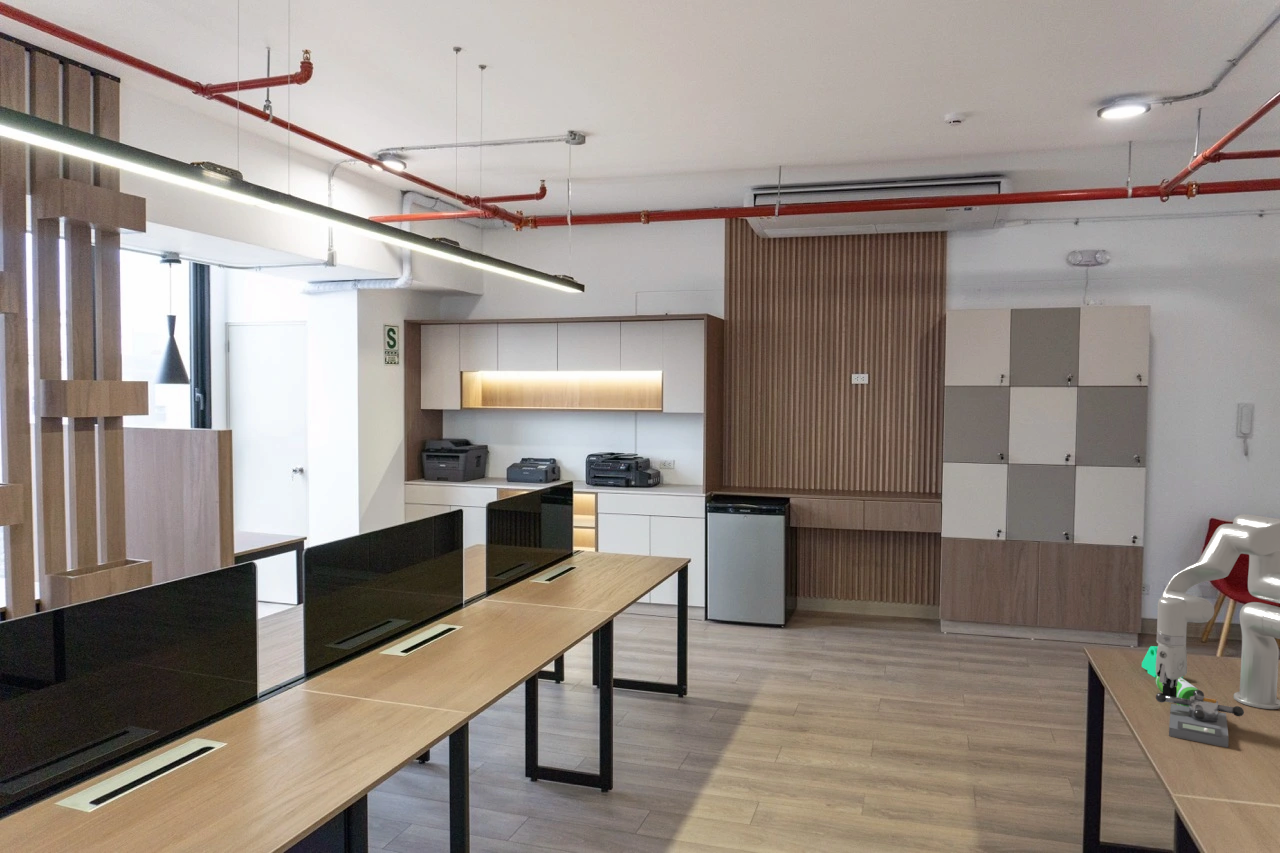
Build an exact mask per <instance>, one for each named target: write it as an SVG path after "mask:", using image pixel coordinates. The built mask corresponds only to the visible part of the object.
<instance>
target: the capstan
mask: <svg viewBox="0 0 1280 853" xmlns="http://www.w3.org/2000/svg"><path fill="white" fill-rule="evenodd" d="M1155 699H1156V701H1157V702H1159V703H1165V702H1167V703H1170V704H1176V705H1178V704H1182V705H1188V706H1189V715H1190V716H1191V717H1193V718H1195V719H1198V720H1202V721H1209V722H1214V721H1217V719H1218V712H1220V713H1226V714H1232V715H1234V716H1235V717H1243V715H1245V714H1244V713H1245V711H1244V709H1243V707H1241V706H1239V705H1237V706H1229V705H1224V704H1223V705H1221V704H1219V701H1217V699H1216V698H1211V697H1207V696H1205V694H1204V691H1203V690H1200V689H1198V690H1195V691H1194V692H1193V696H1191V697H1190V700H1189V699H1184V698H1178V697H1172V696H1166V695H1165V694H1163V692H1158V693H1156V694H1155Z"/></svg>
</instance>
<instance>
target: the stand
mask: <svg viewBox="0 0 1280 853" xmlns="http://www.w3.org/2000/svg"><path fill="white" fill-rule="evenodd" d="M1227 720H1228V719H1227V712H1221V711H1218V719H1217V721H1214V722H1209V721H1202V720H1198V719H1195V718H1193V717H1191V716H1190V715H1189V707H1187V706H1182V705H1178V704H1176V703H1170V712H1169V723H1168V725H1169V727H1168V737H1171V738H1177V739H1182V740H1187V741H1193V742H1198V743H1203V744H1208V745H1212V746H1216V747H1222V748H1229V730H1228V721H1227Z"/></svg>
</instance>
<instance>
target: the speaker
mask: <svg viewBox="0 0 1280 853" xmlns="http://www.w3.org/2000/svg"><path fill="white" fill-rule="evenodd" d="M1159 679H1160V677H1158V676H1156V678H1155V684H1156V686H1157V688H1158V690H1159V691H1160V692H1161V693H1163V685H1162V683H1161V682H1159ZM1175 687H1176V686H1175ZM1195 690H1199V688H1197V686H1194V685H1193V684H1192V683H1190V682H1189V681H1187V680H1186V679H1185V678H1184V677H1183V678H1181V677H1180V678H1178V684H1177V693H1176V697H1178V698H1184V699H1189V700H1190V697H1191V696H1193V692H1194V691H1195ZM1177 705H1182V704H1177ZM1182 706H1187V707H1189V706H1188V705H1182Z"/></svg>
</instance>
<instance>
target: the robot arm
mask: <svg viewBox="0 0 1280 853" xmlns="http://www.w3.org/2000/svg"><path fill="white" fill-rule="evenodd" d="M1240 555H1248V573H1247V574H1248V575H1247V590H1248V593H1249V594H1250V595H1251V596H1252V597H1255V598H1257V599H1259V600H1263V601H1267V602H1273V603H1276V604H1280V518H1275V517H1269V516H1268V517H1267V516H1263V515H1256V514H1247V513H1246V514H1245V513H1244V514H1238V515H1236V516H1235V517H1234V518H1233V520H1232V523H1222V524H1221V525H1219V526H1218V527H1217V528H1216V529H1215V531H1214V532H1213V534H1212V536H1211V538H1210V540H1209V542H1208V544H1207V545H1206V546H1205V549H1204V550H1203V552H1202V554H1201V556H1200V557H1199V559H1198V560H1197V561H1196V562H1195V563H1193V564H1191V565H1188V566H1187V567H1185V568H1184V569H1182V570H1180V571H1179V572H1177V573H1176V574H1175V575H1173V576H1172V577H1171V579H1170V580H1169V581H1168V583H1167V584H1166V587H1165V589H1164V590H1163V592H1162V594H1161V597H1160V598H1159V599H1158V600H1157V618H1156V619H1157V620H1156V621H1157V622H1156V623H1157V624H1156V643H1157V646H1158V649H1157V656H1156V675H1157V676H1158V677H1160V679H1159V682H1161V683H1162V685H1163V692H1162V693H1163V694H1165V695H1166V696H1172V697H1176V693H1177V684H1178V678H1180V677H1183V678H1184V676H1186V675H1187V674H1188V658H1187V656H1188V655H1187V654H1188V653H1187V629H1188V628H1187V625H1188V623H1196V624H1198V623H1199V624H1201V623H1207V622H1209V621H1210V620H1212V618H1213V617H1214V614H1215V607H1214V605H1213V603H1212V602H1211V601H1209V600H1207V599H1205V598H1204V597H1200V596H1195V595H1193V594H1188V593H1187V591H1188V590H1190V589H1191V588H1192V587H1194V586H1197V585H1198V584H1201V583H1205V582H1210V581H1216V580H1221V579H1224V578H1226V577H1228V576H1229V575H1230V573H1231V571H1232V570H1233V568H1234V566H1235V564H1236V562H1237V560H1238V558H1239V557H1240ZM1239 623H1240V624H1239V625H1240V629H1241V654H1240V656H1241V658H1240V659H1241V661H1240V675H1239V676H1240V678H1239V679H1240V681H1239V691H1237V692H1234V693H1233V699H1234V700H1235V701H1236V702H1239V703H1241V704H1242V705H1245V706H1250V707H1253V708H1257V709H1264V710H1279V709H1280V699H1278V698H1277V696H1278V695H1277V693H1278V678H1279V661H1280V660H1279V658H1280V657H1279V656H1280V649H1279V645H1278V643H1277V641H1276V639H1278V640H1280V607H1279V606H1276V605H1271V604H1269V603H1264V602H1257V601H1251V602H1247V603H1245V604H1244V605H1242V607H1241V608H1240V611H1239ZM1175 686H1176V687H1175Z"/></svg>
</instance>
